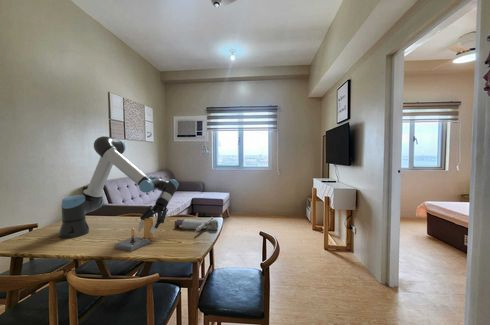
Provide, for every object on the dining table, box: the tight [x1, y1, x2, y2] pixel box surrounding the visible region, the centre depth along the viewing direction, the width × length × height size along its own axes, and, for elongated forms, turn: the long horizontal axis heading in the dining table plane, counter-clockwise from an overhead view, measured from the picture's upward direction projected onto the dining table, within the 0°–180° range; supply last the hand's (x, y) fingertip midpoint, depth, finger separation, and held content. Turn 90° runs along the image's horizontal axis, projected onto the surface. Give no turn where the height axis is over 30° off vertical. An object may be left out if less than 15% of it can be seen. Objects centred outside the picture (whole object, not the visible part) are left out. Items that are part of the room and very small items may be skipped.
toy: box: [173, 216, 219, 233], centre depth 150 cm, size 30×7×30 cm
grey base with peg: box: [114, 228, 151, 252], centre depth 122 cm, size 12×12×9 cm
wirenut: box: [143, 217, 154, 239], centre depth 135 cm, size 5×5×11 cm
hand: (144, 231), depth 132 cm, fingers open, 10 cm apart
